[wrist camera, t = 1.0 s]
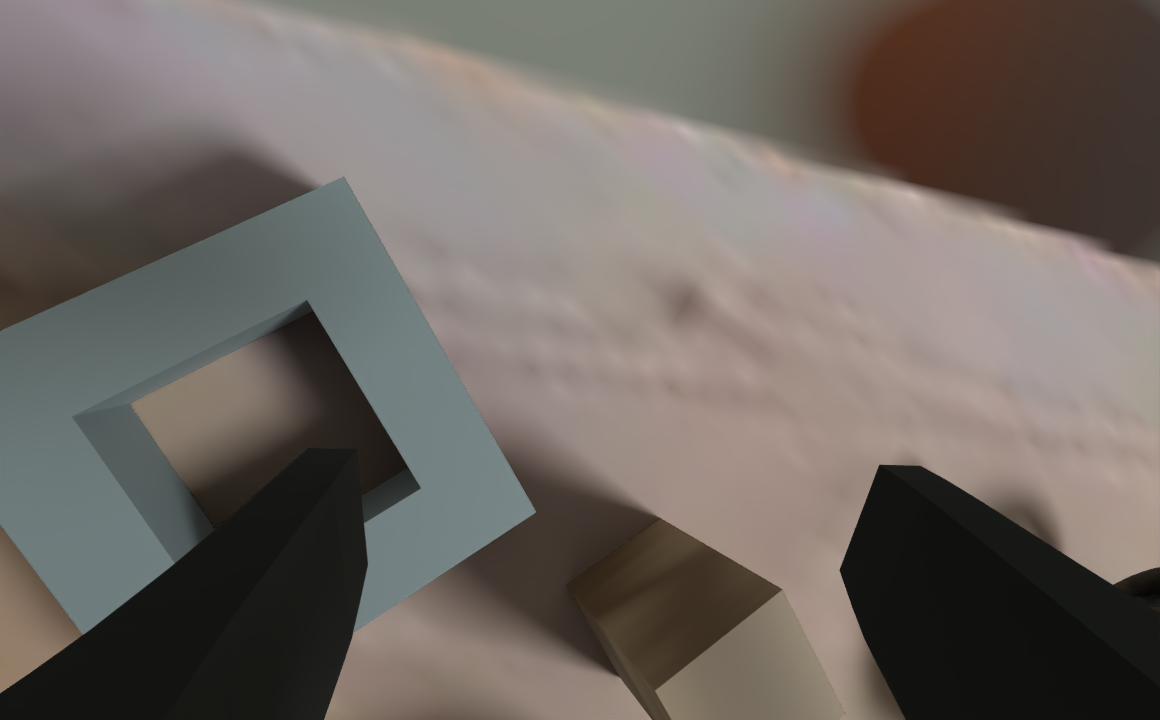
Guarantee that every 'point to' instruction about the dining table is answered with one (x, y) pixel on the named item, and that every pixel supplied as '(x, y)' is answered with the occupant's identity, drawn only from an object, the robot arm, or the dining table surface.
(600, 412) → the dining table surface
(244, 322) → the socket block
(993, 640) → the robot arm
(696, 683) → the square peg
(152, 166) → the dining table surface
